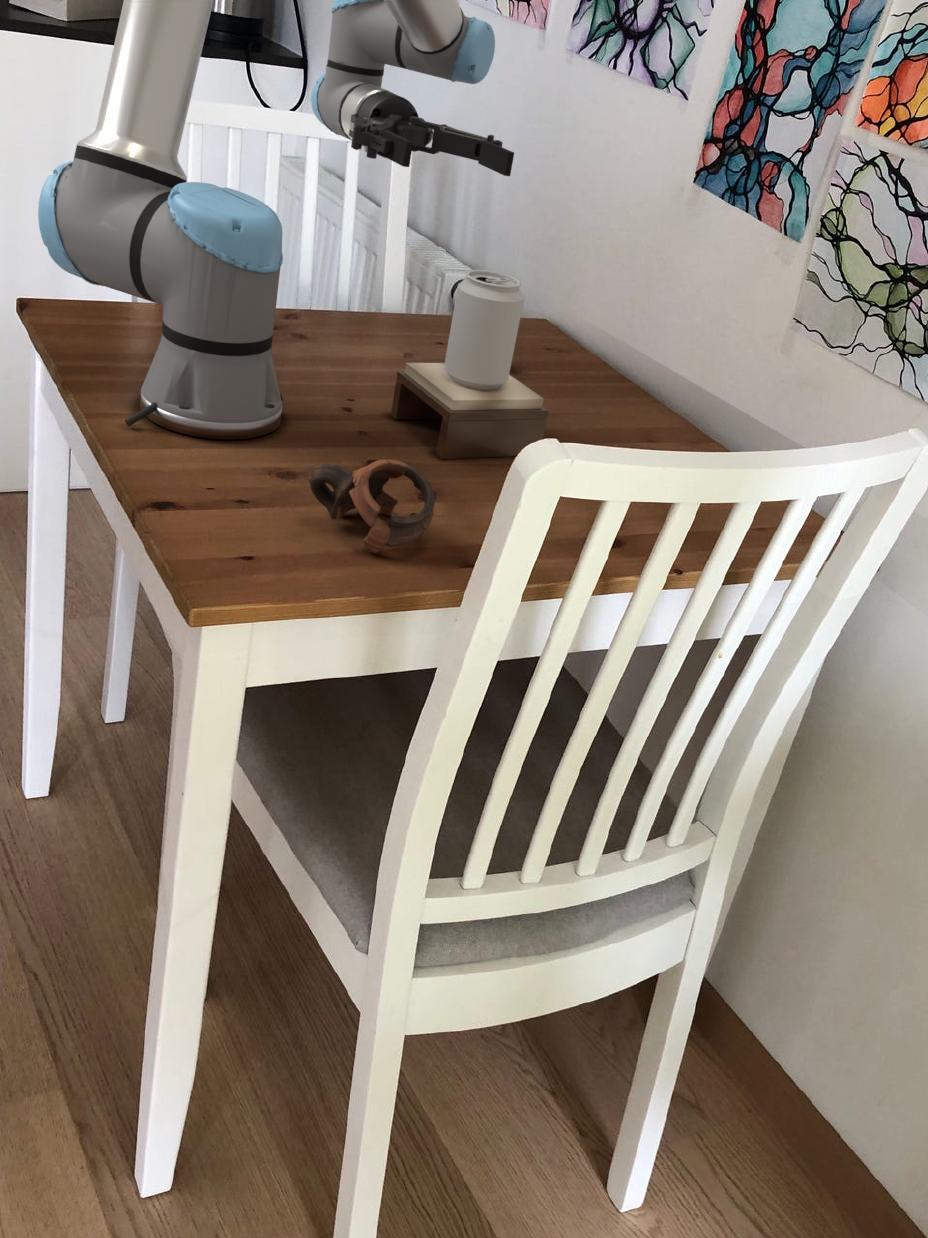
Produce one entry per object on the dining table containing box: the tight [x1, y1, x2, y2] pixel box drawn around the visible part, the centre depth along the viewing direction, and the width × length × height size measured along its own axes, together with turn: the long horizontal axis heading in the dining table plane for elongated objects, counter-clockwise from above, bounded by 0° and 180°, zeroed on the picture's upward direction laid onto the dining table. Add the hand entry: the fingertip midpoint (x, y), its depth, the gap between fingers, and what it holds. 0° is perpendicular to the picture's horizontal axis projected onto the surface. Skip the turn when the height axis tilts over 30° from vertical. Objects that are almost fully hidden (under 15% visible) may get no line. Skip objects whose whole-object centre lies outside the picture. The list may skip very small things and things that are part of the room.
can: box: [444, 269, 525, 389], centre depth 139 cm, size 8×8×12 cm
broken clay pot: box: [308, 458, 436, 554], centre depth 116 cm, size 12×10×8 cm
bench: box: [390, 362, 550, 460], centre depth 143 cm, size 13×13×7 cm
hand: (460, 159), depth 143 cm, fingers open, 13 cm apart
